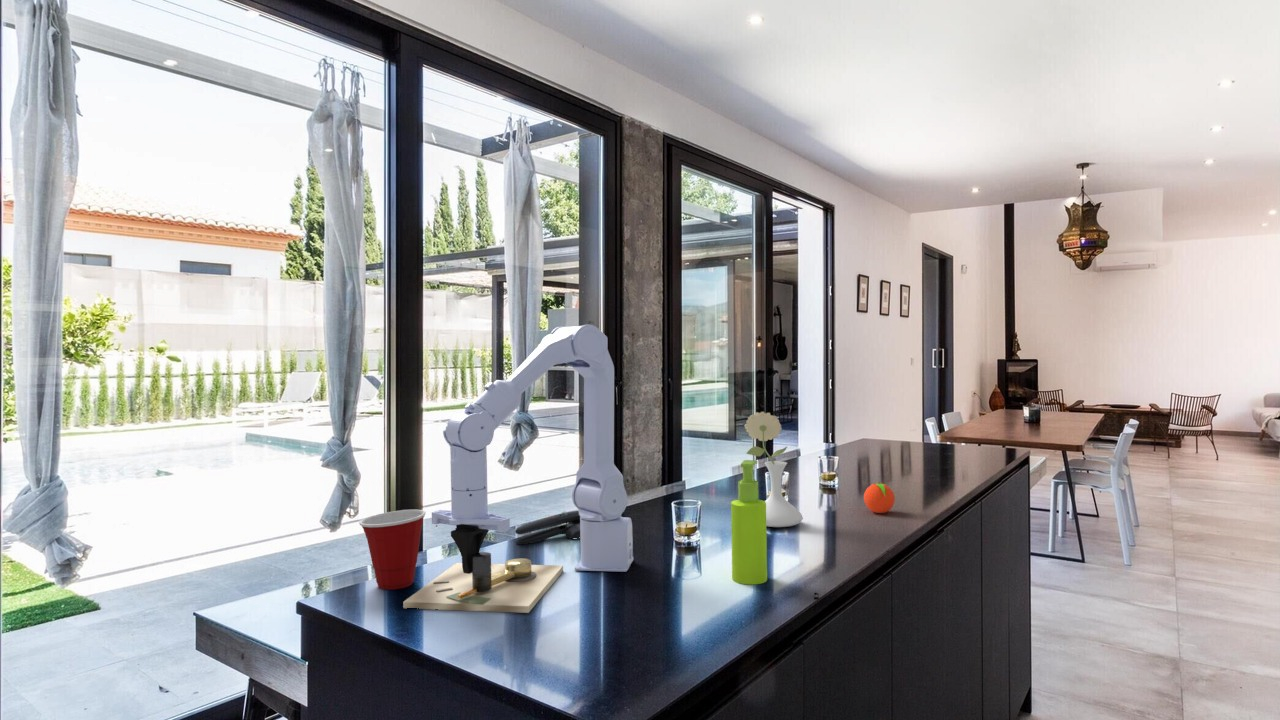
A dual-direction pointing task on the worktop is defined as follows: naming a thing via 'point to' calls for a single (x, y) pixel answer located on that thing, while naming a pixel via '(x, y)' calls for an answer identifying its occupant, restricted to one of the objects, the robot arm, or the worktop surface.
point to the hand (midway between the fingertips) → (470, 571)
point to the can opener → (568, 529)
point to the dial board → (499, 599)
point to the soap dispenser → (748, 531)
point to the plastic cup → (394, 546)
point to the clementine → (879, 498)
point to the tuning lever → (485, 580)
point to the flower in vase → (772, 471)
